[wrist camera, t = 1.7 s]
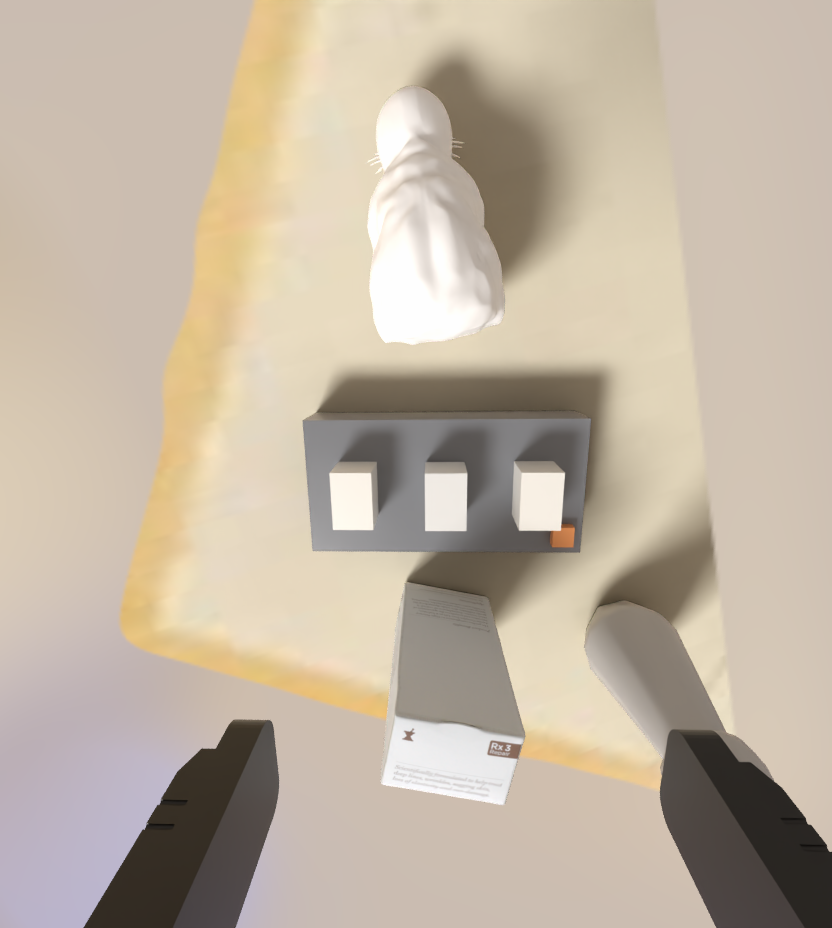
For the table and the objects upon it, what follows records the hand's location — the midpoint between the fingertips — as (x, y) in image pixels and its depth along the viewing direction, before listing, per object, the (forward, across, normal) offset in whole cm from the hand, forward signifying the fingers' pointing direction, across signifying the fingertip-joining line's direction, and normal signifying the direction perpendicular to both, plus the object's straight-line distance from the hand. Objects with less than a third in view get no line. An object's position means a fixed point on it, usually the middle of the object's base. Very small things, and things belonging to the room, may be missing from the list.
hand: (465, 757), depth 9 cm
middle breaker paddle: (+18, 0, 0) cm, 18 cm away
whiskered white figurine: (+21, +1, -14) cm, 25 cm away
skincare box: (+21, 0, +10) cm, 23 cm away
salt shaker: (+21, -12, +11) cm, 27 cm away
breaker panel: (+21, 0, 0) cm, 21 cm away
